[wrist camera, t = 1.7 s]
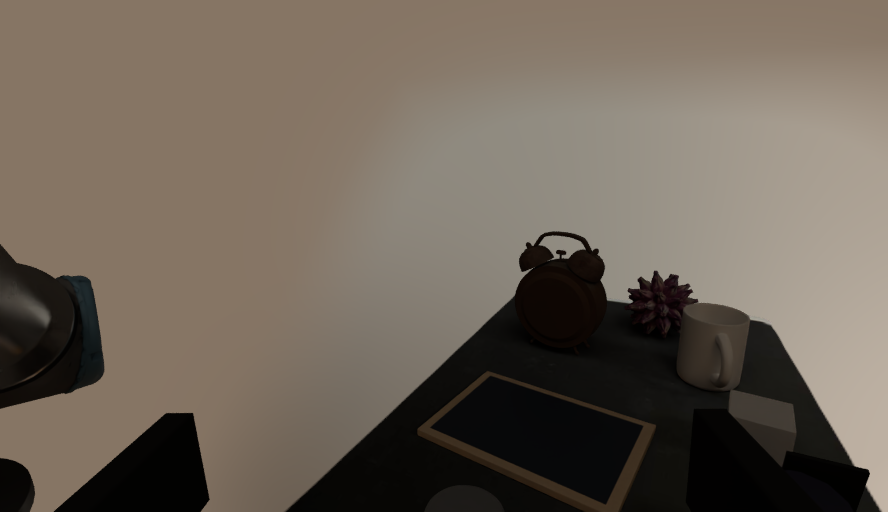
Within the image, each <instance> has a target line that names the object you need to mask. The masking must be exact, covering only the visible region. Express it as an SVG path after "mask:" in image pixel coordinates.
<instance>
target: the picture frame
mask: <svg viewBox="0 0 888 512" xmlns="http://www.w3.org/2000/svg"><path fill="white" fill-rule="evenodd" d="M655 430H656V425H653V424H650V423H647V422H644V421H640V420H637V419H634V418H631V417H628V416H625V415H622V414H619V413H616V412H613V411H610V410H606V409H603V408H600V407H597V406H594V405H591V404H588V403H585V402H582V401H579V400H575V399H572V398H569V397H566V396H563V395H560V394H557V393H554V392H551V391H548V390H545V389H541V388H538V387H535V386H532V385H529V384H526V383H523V382H520V381H517V380H514V379H510V378H507V377H504V376H501V375H498V374H495V373H492V372H489V371H487V372H485V373H484V374H483V375H482V376H481V377H479V378H478V379H477V380H476V381H475V382H473V383H472V384H471V385H470V386H469V387H467V388H466V389H465V390H464V391H463V392H461V393H460V394H459V395H458V396H457V397H455V398H454V399H453V400H452V401H451V402H449V403H448V404H447V405H446V406H445V407H443V408H442V409H441V410H440V411H439V412H437V413H436V414H435V415H434V416H433V417H431V418H430V419H429V420H428V421H427V422H425V423H424V424H423V425H422V426H421V427H419V428H418V429H417V434H418V436H421V437H423V438H425V439H427V440H429V441H432V442H434V443H436V444H438V445H440V446H442V447H445V448H447V449H449V450H451V451H453V452H456V453H458V454H460V455H462V456H464V457H466V458H469V459H471V460H473V461H475V462H477V463H480V464H482V465H484V466H486V467H488V468H490V469H493V470H495V471H497V472H499V473H501V474H503V475H506V476H508V477H510V478H512V479H514V480H517V481H519V482H521V483H523V484H525V485H527V486H530V487H532V488H534V489H536V490H538V491H541V492H543V493H545V494H547V495H549V496H551V497H554V498H556V499H558V500H560V501H562V502H565V503H567V504H569V505H571V506H573V507H575V508H578V509H580V510H582V511H584V512H620V511H621V509H622V507H623V505H624V502H625V500H626V498H627V495H628V493H629V491H630V488H631V486H632V484H633V482H634V479H635V477H636V475H637V472H638V470H639V468H640V465H641V463H642V461H643V459H644V456H645V454H646V452H647V449H648V447H649V445H650V442H651V440H652V438H653V436H654V433H655Z"/></svg>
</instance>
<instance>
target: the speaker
mask: <svg viewBox="0 0 888 512" xmlns="http://www.w3.org/2000/svg"><path fill="white" fill-rule="evenodd" d="M782 468H783V469H784V470H785V471H786V472H787V473H788V474H789V475H790V476H791V478H792V479H793V480H794V481H795V482H796V483H797V484H798V485H799V486H800V487H801V488H802V489H803V490H804V491H805V492H806V493H807V494H808V495H809V496H810V497H811V498H812V499H813V501H814V502H815V503H816V504H817V505H818V506H819V507H820V508H821V509H822V510H823V511H824V512H856V510H857V507H858V505H859V502H860V499H861V496H862V494H863V491H864V488H865V486H866V483H867V480H868V477H869V475H870V473H869V470H867V469H863V468H859V467H855V466H850V465H846V464H842V463H838V462H833V461H829V460H825V459H821V458H816V457H812V456H808V455H804V454H799V453H795V452H791V451H787V450H786V454H785V458H784V462H783V465H782Z"/></svg>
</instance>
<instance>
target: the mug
mask: <svg viewBox="0 0 888 512" xmlns="http://www.w3.org/2000/svg"><path fill="white" fill-rule="evenodd" d="M749 324H750V318H749V316H748V315H747V314H745V313H743V312H741V311H739V310H737V309H734V308H731V307H727V306H723V305H718V304H709V303H696V304H690V305H687V306H685V307H684V309H683V315H682V323H681V331H680V339H679V347H678V355H677V364H676V370H677V373H678V375H679V376H680V378H681V379H682V380H683V381H685V382H686V383H688V384H690V385H692V386H694V387H696V388H699V389H703V390H707V391H713V392H725V391H730V390H732V389H734V388H736V387H737V386H738V384H739V382H740V378H741V372H742V366H743V360H744V354H745V348H746V342H747V336H748V330H749Z"/></svg>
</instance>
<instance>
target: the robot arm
mask: <svg viewBox="0 0 888 512" xmlns="http://www.w3.org/2000/svg"><path fill="white" fill-rule="evenodd" d="M103 373H104V359H103V353H102V345H101V335H100V329H99V323H98V316H97V309H96V304H95V298H94V293H93V289H92V286H91V281H90V280H89V279H88V278H86V277H84V276H73V277H71V276H64V275H63V276H60V277H58V278H56V279H55V278H53V277H52V276H50V275H49V274H47V273H45V272H43V271H41V270H39V269H37V268H34V267H31V266H27V265H23V264H19V263H16V262H15V261H14V259H13V258H12V257H11V256H10V255H9V254H8V253H7V251H6V250H5V249H4V248H3V247H2V246H1V244H0V409H1V408H5V407H9V406H13V405H17V404H21V403H25V402H29V401H33V400H37V399H41V398H45V397H49V396H53V395H57V394H61V393H65V394H67V393H71V392H73V391H74V390H76V389H79V388H82V387H85V386H88V385H91V384H94V383H96V382H97V381H98V380H99V379H100V378H101V377H102V376H103ZM209 500H210V499H209V494H208V489H207V484H206V479H205V473H204V468H203V463H202V458H201V452H200V447H199V442H198V437H197V431H196V426H195V421H194V416H193V413H166V414H165V415H163V416H162V417H161V418H160V419H159V420H158V421H157V422H155V423H154V424H153V425H152V426H151V427H150V428H149V429H147V430H146V431H145V432H144V433H143V434H142V435H141V436H139V437H138V438H137V439H136V440H135V441H134V442H133V443H131V445H129V446H128V447H127V448H126V449H125V450H123V451H122V452H121V453H120V454H119V455H118V456H117V457H116V458H114V459H113V460H112V461H111V462H110V463H109V464H107V466H105V467H104V468H103V469H102V470H101V471H99V472H98V473H97V474H96V475H95V476H94V477H93V478H91V479H90V480H89V481H88V482H87V483H86V484H85V485H83V486H82V487H81V488H80V489H79V490H78V491H77V492H75V493H74V494H73V495H72V496H71V497H70V498H69V499H67V500H66V501H65V502H64V503H63V504H62V505H61V506H59V507H58V508H57V509H56V510H55V511H54V512H201V510H202V509H203V508H204V506H205V505H206V504H207V502H208V501H209ZM686 503H687V505H688V506H689V508H690V510H691V512H824V511H823V510H822V509H821V508H820V507H819V506H818V505H817V504H816V503H815V502H814V501H813V499H812V498H811V497H810V496H809V495H808V494H807V493H806V492H805V491H804V490H803V489H802V488H801V487H800V486H799V485H798V484H797V483H796V482H795V481H794V480H793V479H792V478H791V476H790V475H789V474H788V473H787V472H786V471H785V470H784V469H783V468H782V467H781V466H780V465H779V464H778V463H777V462H776V461H775V460H774V459H773V458H772V457H771V456H770V455H769V453H768V452H767V451H766V450H765V449H764V448H763V447H762V446H761V445H760V444H759V443H758V442H757V441H756V440H755V439H754V438H753V437H752V436H751V435H750V434H749V433H748V432H747V430H746V429H745V428H744V427H743V426H742V425H741V424H740V423H739V422H738V421H737V420H736V419H735V418H734V417H733V416H732V415H731V414H730V413H729V412H728V411H727V410H726V409H694V416H693V427H692V439H691V450H690V462H689V473H688V485H687V496H686Z"/></svg>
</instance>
